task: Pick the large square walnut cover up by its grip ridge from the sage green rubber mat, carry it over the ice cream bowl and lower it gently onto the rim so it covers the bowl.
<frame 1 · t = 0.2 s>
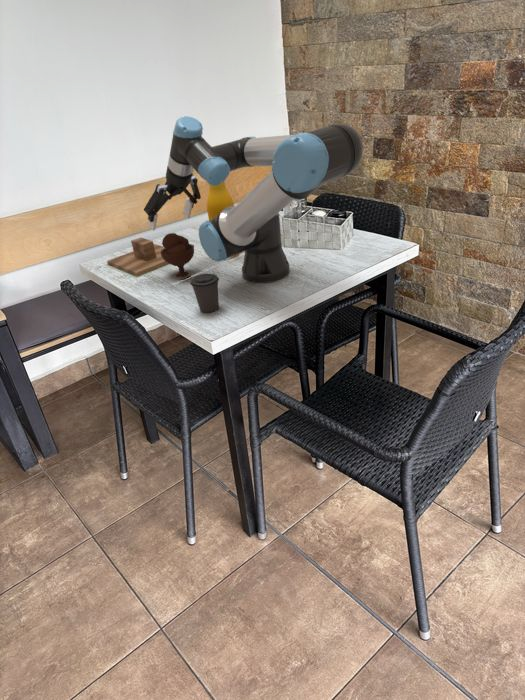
hand: (169, 221, 172), 16 cm above the table, tool tilted 35°, fingers open, 13 cm apart
walnut cover: (146, 261, 188), point 1 cm above the table, touching green mat
ice cream bowl: (183, 277, 174), on the table
coffee cup: (209, 310, 150), on the table
green mat: (147, 263, 188), on the table
yellow bottle: (227, 255, 186), on the table
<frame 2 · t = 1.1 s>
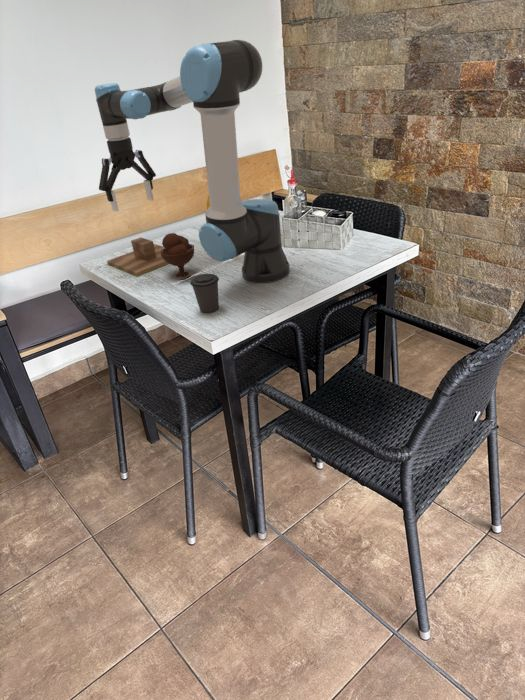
hand: (133, 205, 178), 21 cm above the table, tool pointing down, fingers open, 13 cm apart
nothing on the table moved.
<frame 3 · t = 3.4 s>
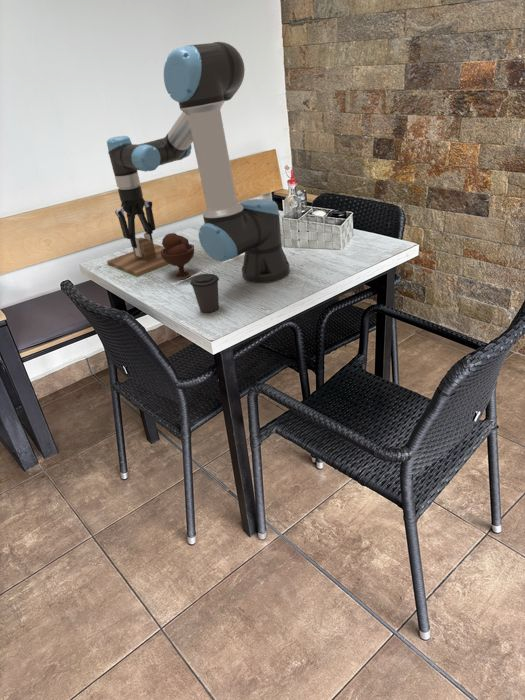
hand: (144, 253, 186), 4 cm above the table, tool pointing down, fingers closed on walnut cover, 4 cm apart
walnut cover: (146, 261, 188), point 1 cm above the table, touching green mat, gripper
everything else where it was.
when the fingers open (18 cm above the table, at t = 9.2 s): walnut cover stays where it is, resting on ice cream bowl.
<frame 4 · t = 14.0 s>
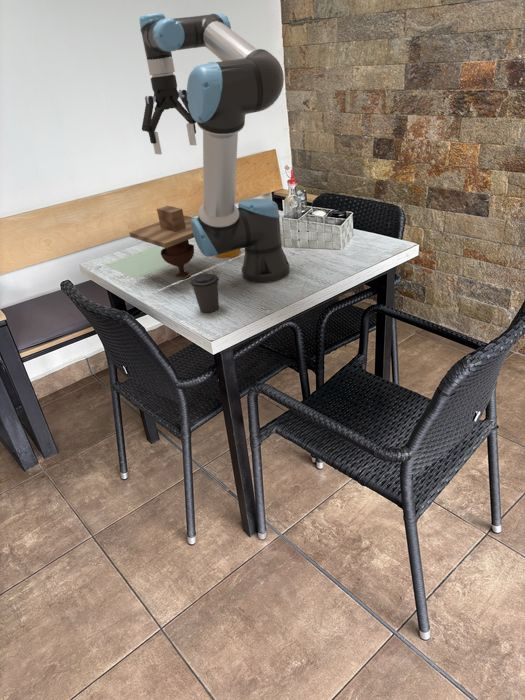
hand: (176, 149, 169), 37 cm above the table, tool pointing down, fingers open, 13 cm apart
walnut cover: (174, 232, 166), point 15 cm above the table, touching ice cream bowl
ice cream bowl: (183, 277, 174), on the table, touching walnut cover
everything else where it was.
at the end: walnut cover inside the target area on the ice cream bowl (0.0 cm from its centre), point 15.2 cm above the ice cream bowl's base; walnut cover tilted 0°; ice cream bowl tilted 0° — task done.
